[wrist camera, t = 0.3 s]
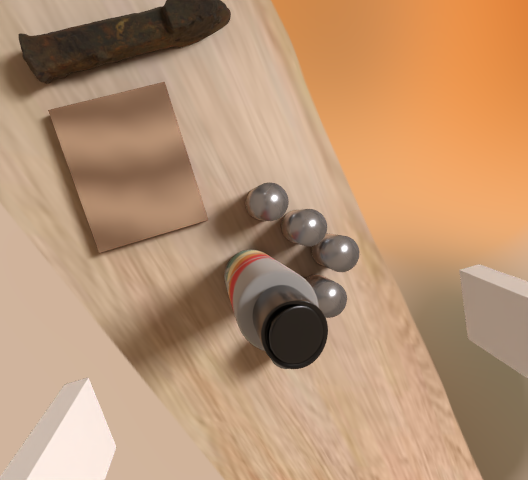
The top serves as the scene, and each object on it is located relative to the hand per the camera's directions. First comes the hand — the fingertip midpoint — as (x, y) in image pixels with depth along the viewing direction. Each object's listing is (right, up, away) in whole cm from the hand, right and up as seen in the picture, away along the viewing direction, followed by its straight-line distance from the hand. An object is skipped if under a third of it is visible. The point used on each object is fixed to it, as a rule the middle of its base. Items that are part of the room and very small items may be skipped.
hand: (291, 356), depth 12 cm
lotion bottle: (-2, 0, +27) cm, 27 cm away
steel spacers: (+2, +1, +27) cm, 27 cm away
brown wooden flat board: (-14, +11, +24) cm, 30 cm away
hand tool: (-14, +24, +23) cm, 36 cm away
